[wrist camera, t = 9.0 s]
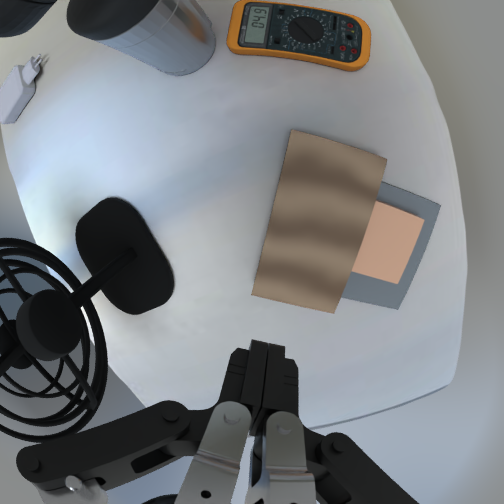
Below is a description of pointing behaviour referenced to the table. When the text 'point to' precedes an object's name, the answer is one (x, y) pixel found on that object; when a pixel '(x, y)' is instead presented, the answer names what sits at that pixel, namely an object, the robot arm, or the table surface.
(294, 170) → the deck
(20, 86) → the charger
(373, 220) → the tile
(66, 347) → the desk fan
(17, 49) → the table surface
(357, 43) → the multimeter
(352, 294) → the mat
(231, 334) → the table surface
